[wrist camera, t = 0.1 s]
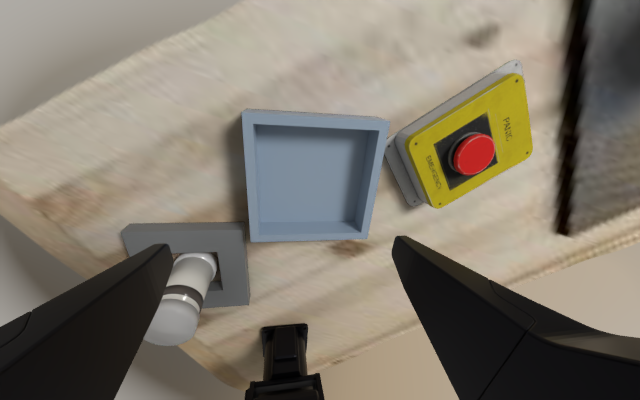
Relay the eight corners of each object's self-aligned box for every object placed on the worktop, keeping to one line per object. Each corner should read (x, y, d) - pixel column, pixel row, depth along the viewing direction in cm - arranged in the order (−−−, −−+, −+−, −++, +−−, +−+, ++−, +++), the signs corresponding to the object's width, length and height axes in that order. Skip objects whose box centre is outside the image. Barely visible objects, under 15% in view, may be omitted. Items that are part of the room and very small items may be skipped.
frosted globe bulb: (220, 277, 28) (199, 343, 21) (180, 279, 27) (144, 348, 20) (215, 247, 26) (190, 309, 19) (172, 249, 25) (129, 313, 18)
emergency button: (395, 153, 20) (564, 48, 18) (376, 142, 24) (514, 55, 22) (428, 226, 24) (568, 147, 22) (407, 207, 28) (525, 138, 26)
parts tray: (358, 223, 27) (367, 238, 24) (254, 225, 25) (250, 242, 23) (377, 116, 22) (390, 121, 19) (246, 108, 20) (241, 112, 17)
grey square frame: (250, 295, 30) (248, 304, 28) (156, 301, 28) (149, 312, 26) (244, 222, 25) (242, 229, 23) (129, 223, 23) (120, 232, 22)
